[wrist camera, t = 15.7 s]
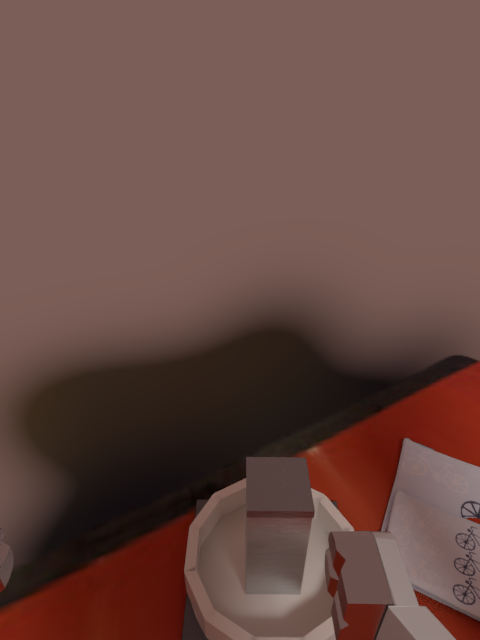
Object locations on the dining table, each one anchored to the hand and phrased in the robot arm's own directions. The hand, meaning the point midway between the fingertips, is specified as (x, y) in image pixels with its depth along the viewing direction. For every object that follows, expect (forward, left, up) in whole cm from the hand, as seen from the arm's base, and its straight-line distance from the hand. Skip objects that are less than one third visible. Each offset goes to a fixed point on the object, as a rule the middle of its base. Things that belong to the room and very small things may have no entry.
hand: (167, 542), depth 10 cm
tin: (-5, -16, -30) cm, 35 cm away
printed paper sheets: (-28, -21, -33) cm, 48 cm away
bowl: (-5, -16, -31) cm, 36 cm away
